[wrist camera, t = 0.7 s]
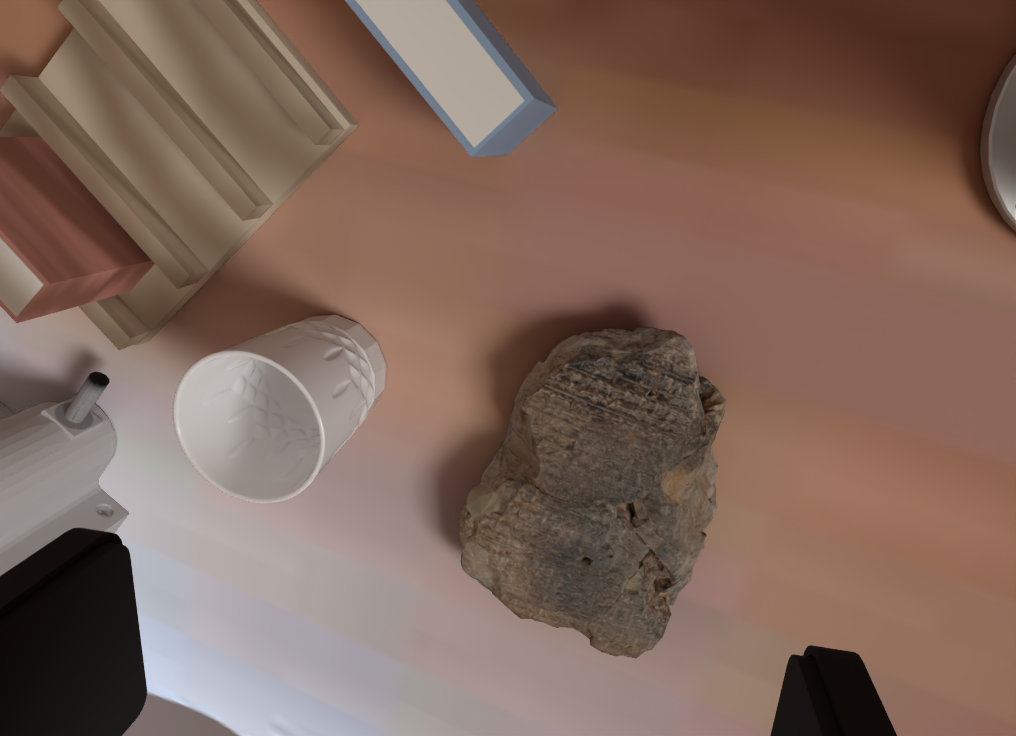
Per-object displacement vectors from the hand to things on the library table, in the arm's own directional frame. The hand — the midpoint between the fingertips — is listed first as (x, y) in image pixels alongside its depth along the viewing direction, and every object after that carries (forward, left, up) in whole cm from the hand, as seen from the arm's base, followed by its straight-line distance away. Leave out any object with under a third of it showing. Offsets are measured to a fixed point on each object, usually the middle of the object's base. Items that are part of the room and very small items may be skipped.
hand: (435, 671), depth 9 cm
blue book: (-2, -12, -30) cm, 33 cm away
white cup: (+16, -5, -30) cm, 34 cm away
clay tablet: (+7, +9, -30) cm, 33 cm away
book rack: (+15, -21, -30) cm, 40 cm away
